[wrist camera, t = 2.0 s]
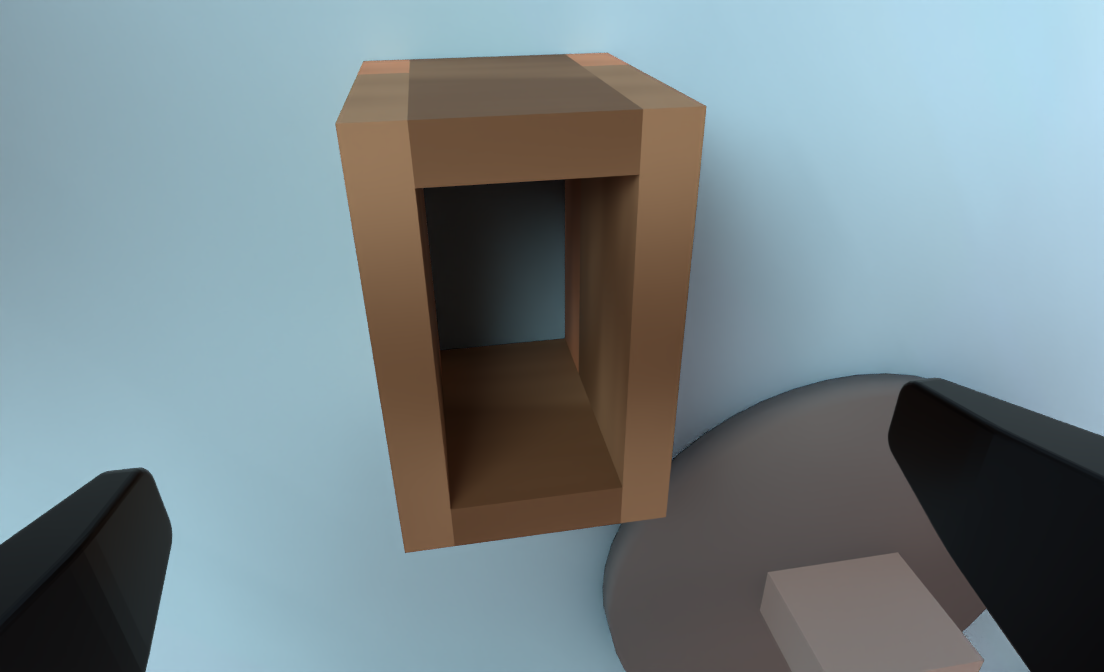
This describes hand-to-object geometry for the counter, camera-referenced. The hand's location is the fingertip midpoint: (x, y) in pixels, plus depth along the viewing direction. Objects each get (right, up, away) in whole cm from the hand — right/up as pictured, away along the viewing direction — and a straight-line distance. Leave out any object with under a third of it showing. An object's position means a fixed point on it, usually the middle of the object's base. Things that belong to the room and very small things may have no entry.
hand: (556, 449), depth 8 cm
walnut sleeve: (-1, +3, +6) cm, 7 cm away
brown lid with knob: (+8, -5, +13) cm, 16 cm away
